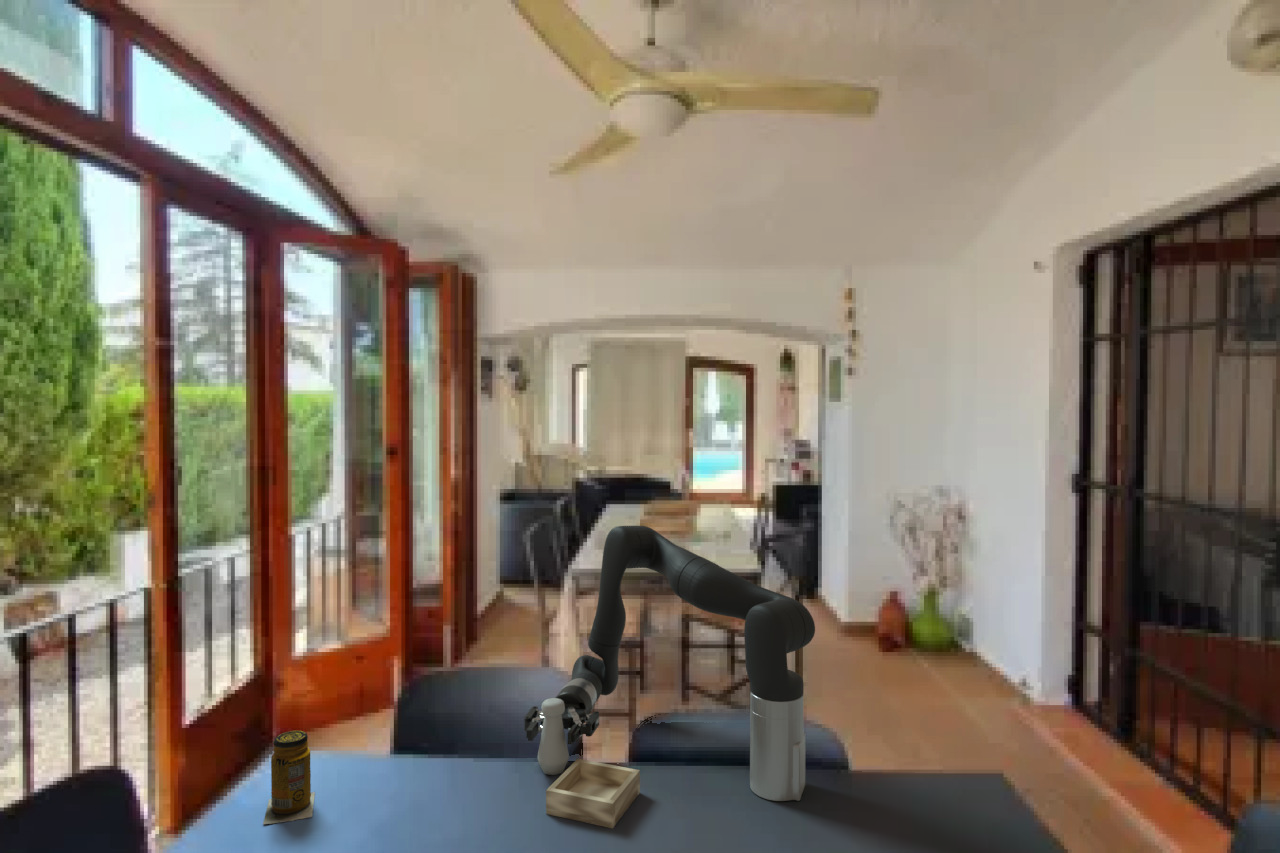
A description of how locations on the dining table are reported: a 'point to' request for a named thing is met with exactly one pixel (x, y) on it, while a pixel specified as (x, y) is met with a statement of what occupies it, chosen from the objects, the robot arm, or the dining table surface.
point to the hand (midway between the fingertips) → (549, 737)
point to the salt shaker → (553, 738)
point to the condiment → (290, 779)
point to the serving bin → (593, 793)
